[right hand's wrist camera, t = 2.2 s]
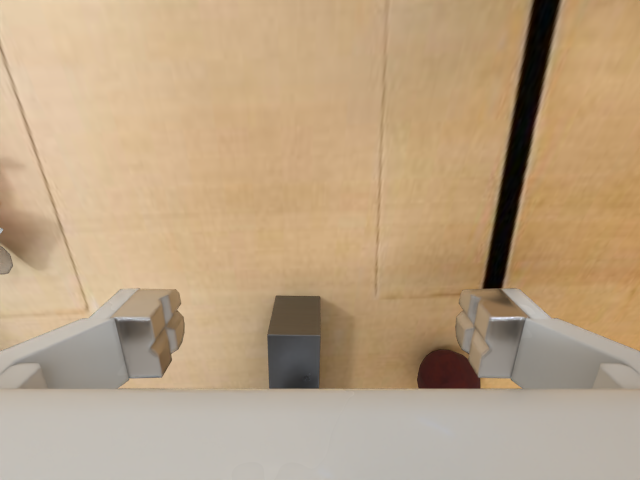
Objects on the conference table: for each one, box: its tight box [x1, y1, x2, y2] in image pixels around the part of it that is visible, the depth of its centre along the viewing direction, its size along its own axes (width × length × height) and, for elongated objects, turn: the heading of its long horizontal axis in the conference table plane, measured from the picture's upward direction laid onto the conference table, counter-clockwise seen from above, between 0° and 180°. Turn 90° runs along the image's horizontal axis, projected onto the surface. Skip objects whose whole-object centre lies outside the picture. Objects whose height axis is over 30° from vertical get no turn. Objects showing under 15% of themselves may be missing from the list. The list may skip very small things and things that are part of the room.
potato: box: [417, 350, 480, 389], centre depth 43 cm, size 7×8×7 cm
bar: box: [267, 296, 320, 389], centre depth 43 cm, size 24×5×8 cm, turn 179°
